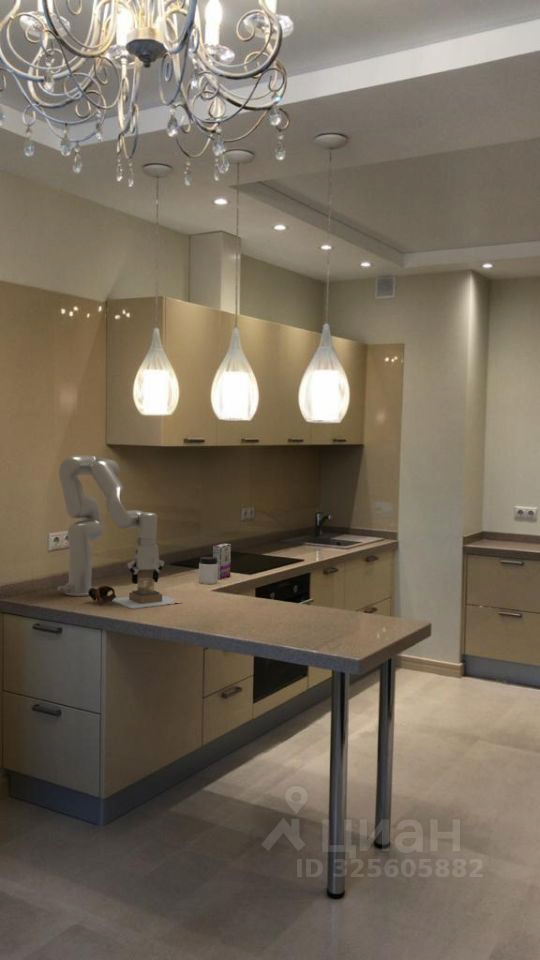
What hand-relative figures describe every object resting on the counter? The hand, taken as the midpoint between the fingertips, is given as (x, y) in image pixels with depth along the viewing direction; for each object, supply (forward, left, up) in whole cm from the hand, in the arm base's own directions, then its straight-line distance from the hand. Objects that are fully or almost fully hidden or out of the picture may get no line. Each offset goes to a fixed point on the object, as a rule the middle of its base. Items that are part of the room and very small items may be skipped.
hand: (145, 582), depth 352 cm
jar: (+49, +26, -8) cm, 56 cm away
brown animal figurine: (-17, +6, -9) cm, 20 cm away
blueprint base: (0, 0, -8) cm, 8 cm away
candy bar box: (+63, +35, -8) cm, 73 cm away
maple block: (0, 0, -5) cm, 5 cm away
